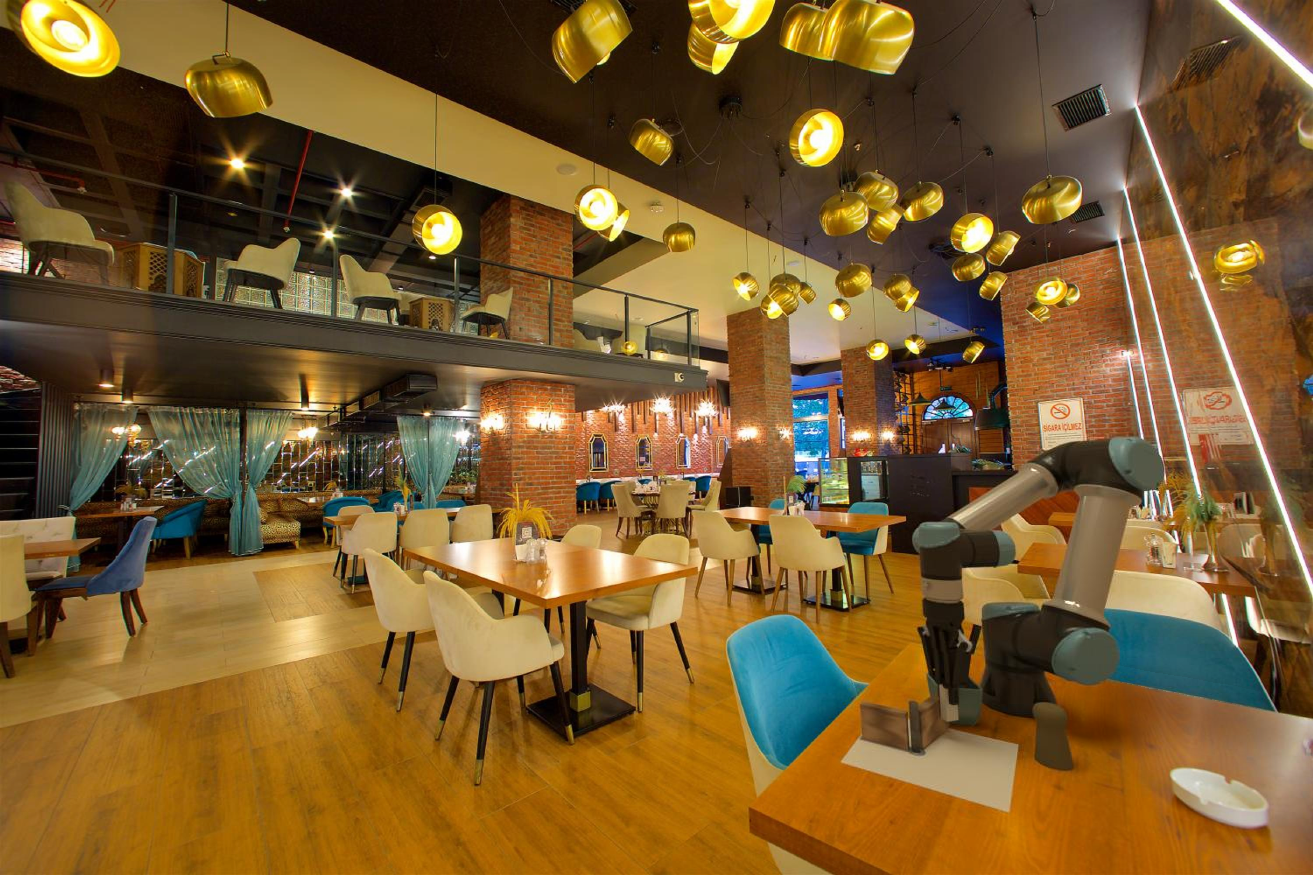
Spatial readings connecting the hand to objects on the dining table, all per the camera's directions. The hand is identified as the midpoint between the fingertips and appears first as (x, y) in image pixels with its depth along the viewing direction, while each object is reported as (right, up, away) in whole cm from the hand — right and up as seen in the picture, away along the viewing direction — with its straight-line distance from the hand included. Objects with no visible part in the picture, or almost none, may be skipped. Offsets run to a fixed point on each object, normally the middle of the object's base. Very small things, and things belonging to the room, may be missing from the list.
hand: (949, 718), depth 105 cm
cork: (+14, -4, -10) cm, 17 cm away
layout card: (-7, -4, -6) cm, 10 cm away
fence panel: (-3, -3, 0) cm, 5 cm away
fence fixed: (-13, -4, -2) cm, 14 cm away
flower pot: (+6, -6, +8) cm, 12 cm away
